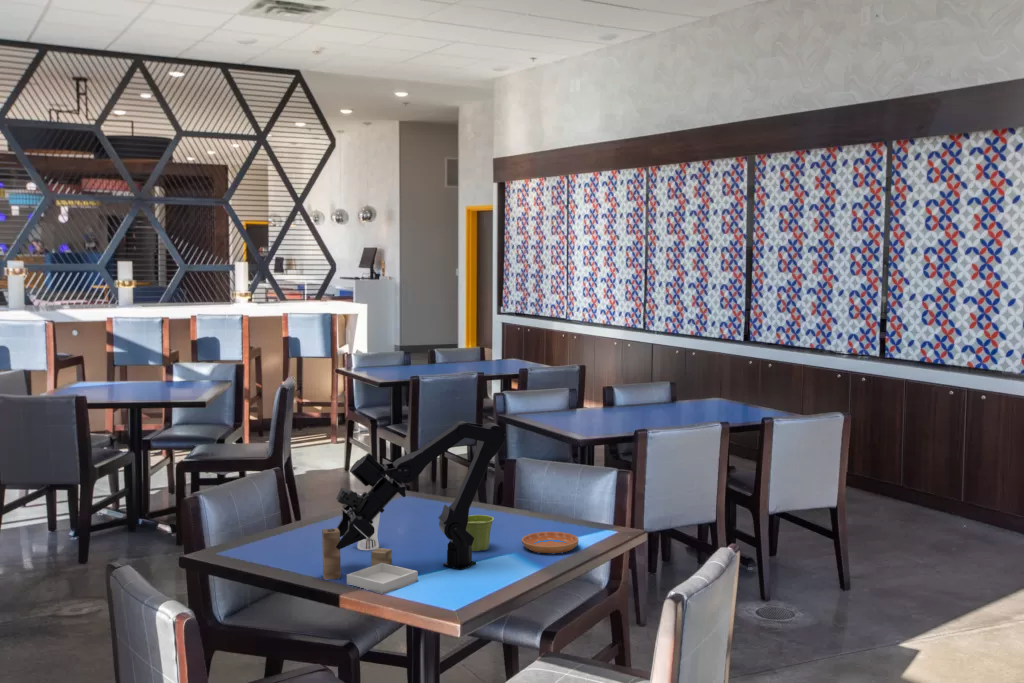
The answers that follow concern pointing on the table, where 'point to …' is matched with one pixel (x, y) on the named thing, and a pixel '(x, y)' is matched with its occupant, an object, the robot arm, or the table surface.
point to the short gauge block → (381, 556)
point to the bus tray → (382, 578)
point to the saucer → (550, 542)
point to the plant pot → (479, 531)
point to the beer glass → (373, 540)
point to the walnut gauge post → (331, 553)
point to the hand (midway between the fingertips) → (334, 543)
